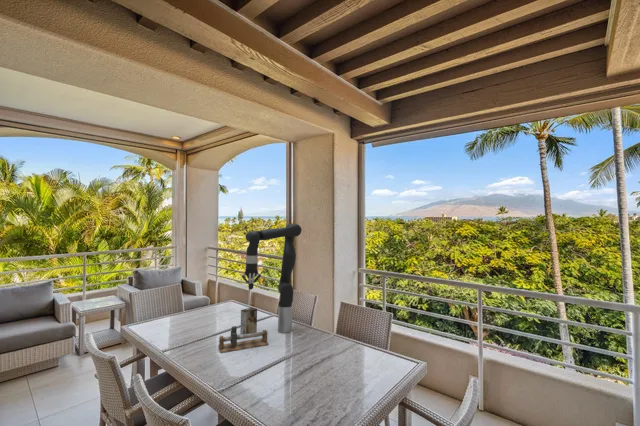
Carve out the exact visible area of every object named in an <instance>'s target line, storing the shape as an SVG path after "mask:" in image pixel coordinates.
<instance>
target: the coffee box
mask: <svg viewBox="0 0 640 426" xmlns="http://www.w3.org/2000/svg"><path fill="white" fill-rule="evenodd" d="M257 323H258V308H256V307H252V306H251V307H247V308H244V309H240V334H239V335H244V334H250V333H257V332H258V331H257V329H258V328H257V326H258V324H257Z"/></svg>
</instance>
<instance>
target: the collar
mask: <svg viewBox="0 0 640 426" xmlns="http://www.w3.org/2000/svg"><path fill="white" fill-rule="evenodd" d="M237 329H238V327H237V326H236V325H235V326H231V330H230V336H232V341H229V343H231V345H232V347H233V346H237V342H238V340H237V335H238V333H237V331H238V330H237Z"/></svg>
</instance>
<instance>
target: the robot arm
mask: <svg viewBox="0 0 640 426" xmlns="http://www.w3.org/2000/svg"><path fill="white" fill-rule="evenodd" d="M301 233H302V227H301V225H299V224H298V223H288V224H287V225H286V226H285V227H279V228H278V227H277V228H266V229H261V230H252V231H248V232H247V233H246V234H245V240H246V241H247V242H248V246H247V247H246V255H245V271H244V274H241V278H242V280H244V282H246V284H248V289H249V291H250V290H253V289H254V284H255V283H257V282H258V280H259V279H260V278H261V277H262V274H261V273H259V271H258V267H259V263H258V262H259V261H258V260H259V257H258V255H259V254H258V253H259V252H258V251H259V246H260V241H269V240H273V239H280V238H284V245H283V254H282V260H281V268H280V269H281V271H280V279H279V282H278V286H277V290H278V293H279V295H280V296H279V302H278V311H277V312H278V316H277V332H278V333H280V334H281V333H283V334H286V333H287V334H288V333H290V332H293V316H292V313H293V311H292V307H293V304H292V303H293V302H294V287H293V285H292V284H291V275H292V273H293V270H294V269H295V268H294V267H295V265H296V258H297V257H296V255H297V253H296V249H295V243H294V241H295V238H296V237H298V236H300V235H301ZM246 277H247V278H246Z"/></svg>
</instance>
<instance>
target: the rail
mask: <svg viewBox="0 0 640 426" xmlns="http://www.w3.org/2000/svg"><path fill="white" fill-rule="evenodd" d="M257 337H259V338H257ZM260 337H261V338H260ZM250 338H251V339H250ZM252 338H255V339H252ZM245 339H249V340H245ZM238 340H240V341H238ZM241 340H242V341H241ZM230 341H232V336H231V335H230V336H223V335H220V336H219V338H218V345H217V346H218V350H219V353H220V354H225V353H230V352H235V351H236V352H237V351H242V350H248V349H254V348H259V347H266V346H269V342H268V330H266V329H263V330H262V331H259V332H258V331H257V332H256V333H250V334H244V335H242V334H239V335H238V334H237V346H233V347H232V345H231V342H230ZM225 342H229V343H225Z"/></svg>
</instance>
